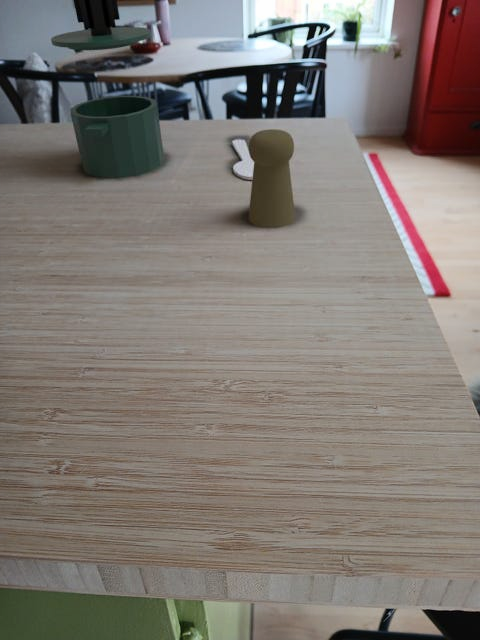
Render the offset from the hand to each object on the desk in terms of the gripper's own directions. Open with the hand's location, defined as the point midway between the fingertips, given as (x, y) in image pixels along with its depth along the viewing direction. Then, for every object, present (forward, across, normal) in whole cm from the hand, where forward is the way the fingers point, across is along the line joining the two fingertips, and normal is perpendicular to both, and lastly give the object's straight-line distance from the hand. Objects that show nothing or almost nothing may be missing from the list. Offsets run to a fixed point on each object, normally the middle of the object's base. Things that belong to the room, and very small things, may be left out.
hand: (100, 26), depth 70 cm
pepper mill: (+20, -17, +25) cm, 37 cm away
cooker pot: (+20, 0, 0) cm, 20 cm away
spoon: (+20, -19, +2) cm, 28 cm away
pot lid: (+2, 0, 0) cm, 2 cm away
